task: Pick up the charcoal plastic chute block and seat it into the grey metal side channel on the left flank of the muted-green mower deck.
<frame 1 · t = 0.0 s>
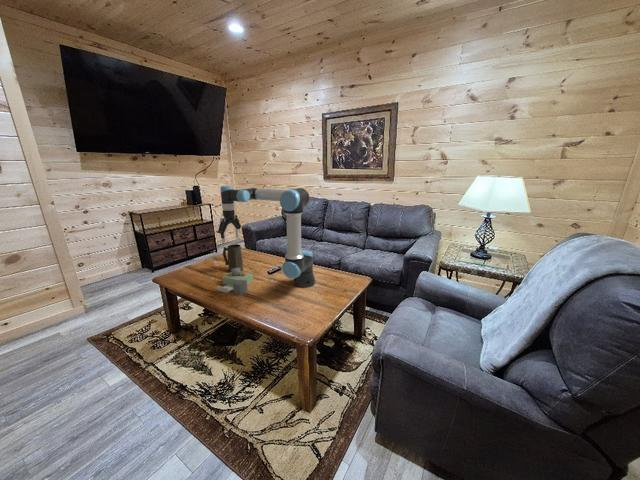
hand: (231, 240, 180), 28 cm above the table, fingers open, 13 cm apart
beer stein: (233, 270, 202), on the table
mower deck: (238, 282, 181), on the table
chute: (240, 292, 168), on the table
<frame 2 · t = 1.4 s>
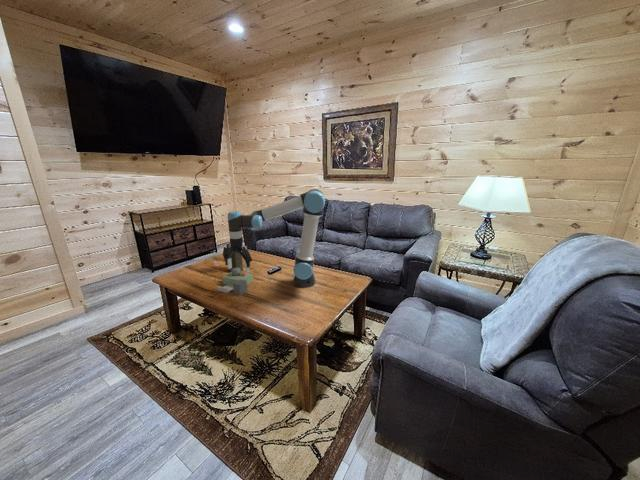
hand: (238, 270, 164), 15 cm above the table, fingers open, 13 cm apart
nothing on the table moved.
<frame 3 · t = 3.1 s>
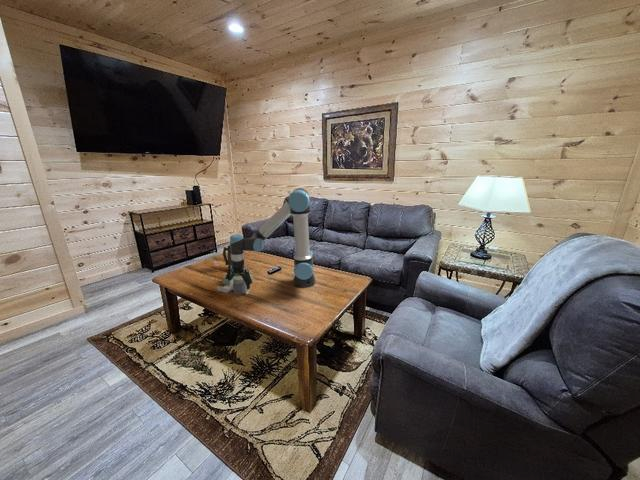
hand: (239, 291, 168), 0 cm above the table, fingers open, 11 cm apart
nothing on the table moved.
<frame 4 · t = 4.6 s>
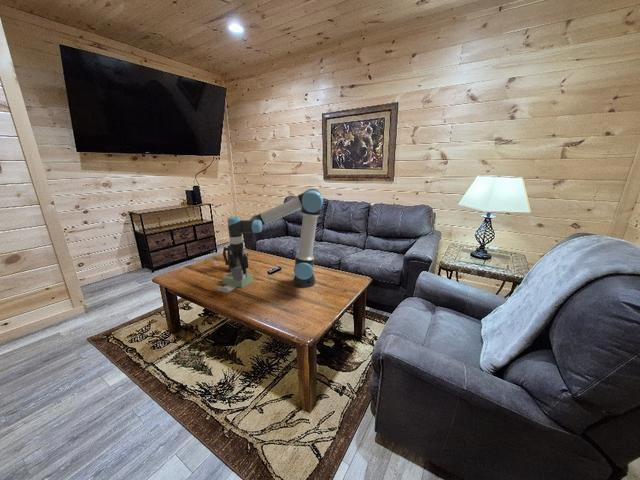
hand: (240, 278, 165), 10 cm above the table, fingers closed on chute, 5 cm apart
chute: (240, 278, 165), point 9 cm above the table, touching gripper
everything else where it was.
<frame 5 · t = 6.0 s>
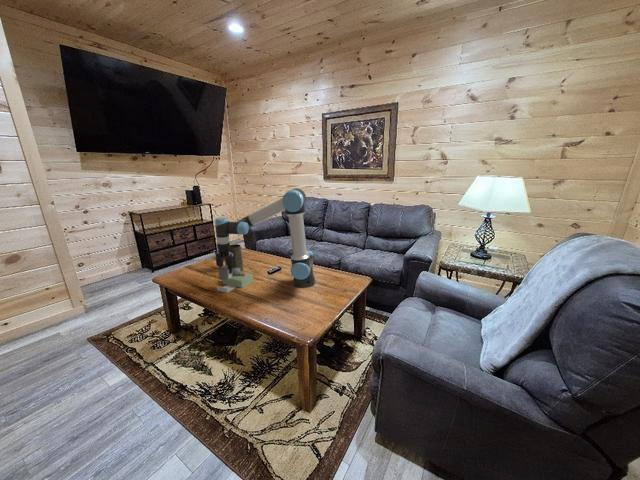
hand: (226, 277, 170), 8 cm above the table, fingers closed on chute, 5 cm apart
chute: (226, 277, 170), point 8 cm above the table, touching gripper
everything else where it was.
when the fingers open (1 cm above the table, at t = 7.5 s): chute stays where it is, resting on mower deck.
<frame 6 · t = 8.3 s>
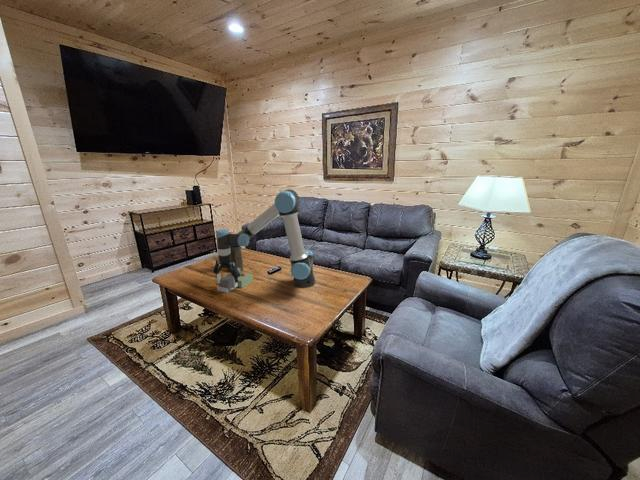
hand: (227, 284, 172), 3 cm above the table, fingers open, 13 cm apart
chute: (227, 288, 172), resting on mower deck
everything else where it was.
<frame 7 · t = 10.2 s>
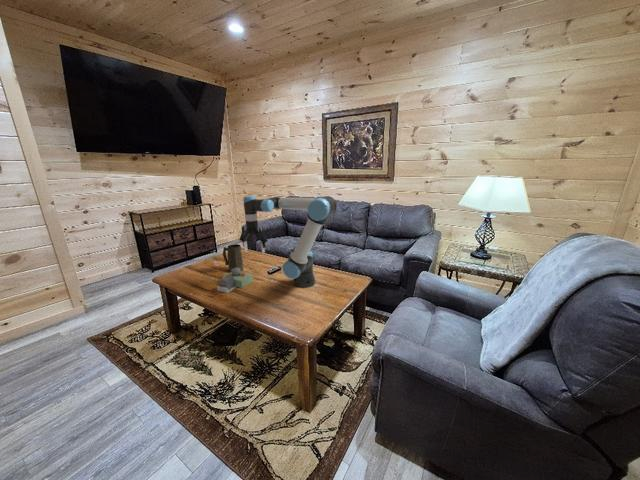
hand: (254, 251, 175), 22 cm above the table, fingers open, 13 cm apart
nothing on the table moved.
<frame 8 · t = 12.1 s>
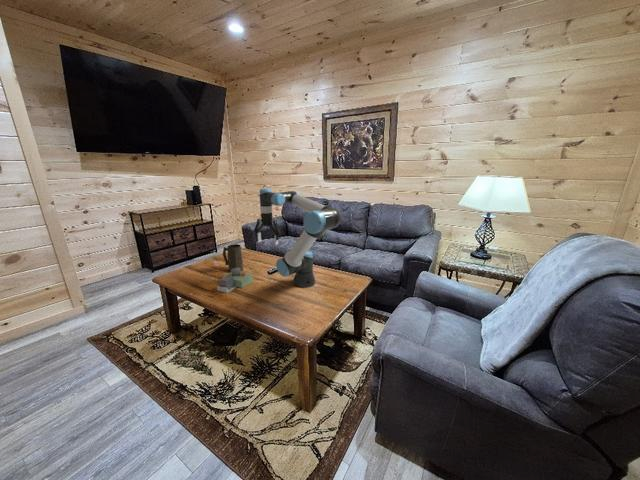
hand: (267, 243, 179), 27 cm above the table, fingers open, 13 cm apart
nothing on the table moved.
at the end: chute 0.1 cm from the target spot on the mower deck, point 0.3 cm above the mower deck's base; chute tilted 0°; the gripper is holding nothing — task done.
